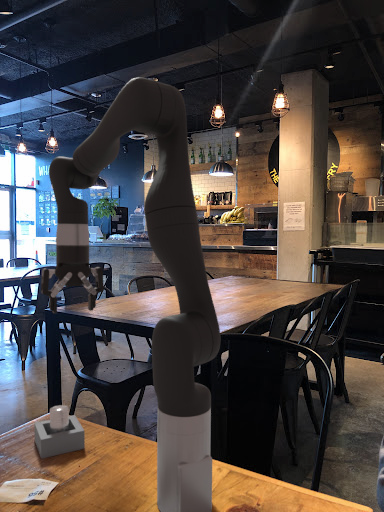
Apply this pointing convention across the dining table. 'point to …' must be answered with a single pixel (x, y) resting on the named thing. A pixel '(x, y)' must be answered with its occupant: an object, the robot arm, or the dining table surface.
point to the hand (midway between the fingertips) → (73, 311)
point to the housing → (59, 438)
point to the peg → (59, 419)
